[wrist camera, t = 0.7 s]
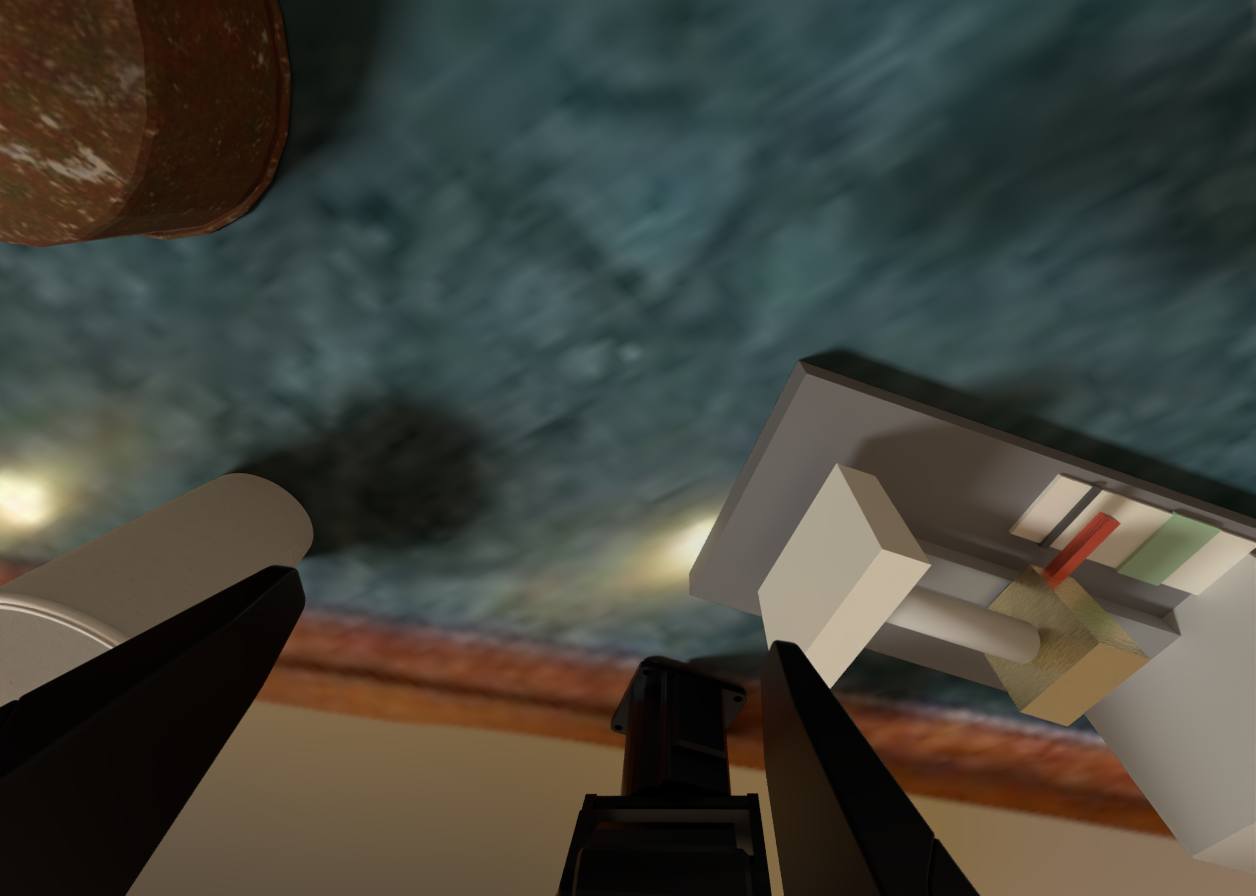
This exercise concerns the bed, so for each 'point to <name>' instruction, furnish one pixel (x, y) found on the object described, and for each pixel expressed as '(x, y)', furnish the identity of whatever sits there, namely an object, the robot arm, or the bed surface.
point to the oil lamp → (137, 116)
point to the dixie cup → (144, 576)
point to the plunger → (869, 584)
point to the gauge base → (1035, 534)
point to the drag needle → (1065, 636)
